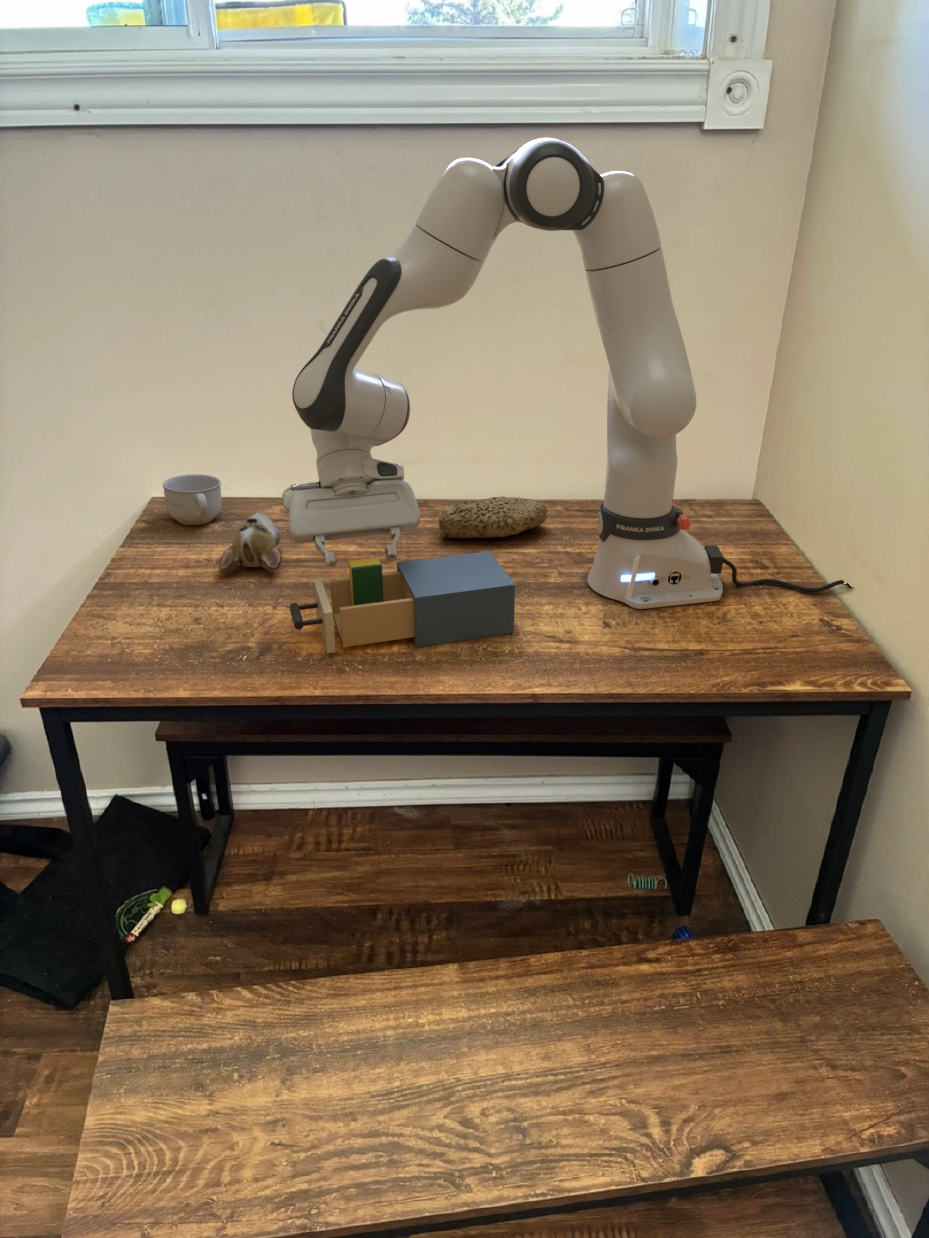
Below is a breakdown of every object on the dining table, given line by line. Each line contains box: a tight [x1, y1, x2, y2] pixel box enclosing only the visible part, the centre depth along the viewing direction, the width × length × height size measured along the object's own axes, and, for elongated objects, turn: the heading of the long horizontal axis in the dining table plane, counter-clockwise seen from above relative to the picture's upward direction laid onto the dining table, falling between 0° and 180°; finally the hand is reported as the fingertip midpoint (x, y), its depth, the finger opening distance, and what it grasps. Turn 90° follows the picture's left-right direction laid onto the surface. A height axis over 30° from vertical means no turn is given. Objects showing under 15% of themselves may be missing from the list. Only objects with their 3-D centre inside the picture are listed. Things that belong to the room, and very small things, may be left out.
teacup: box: [162, 473, 222, 526], centre depth 171 cm, size 14×11×8 cm
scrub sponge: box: [348, 557, 384, 606], centre depth 134 cm, size 4×3×9 cm
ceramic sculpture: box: [218, 509, 283, 573], centre depth 155 cm, size 11×9×15 cm
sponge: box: [438, 496, 549, 539], centre depth 167 cm, size 13×8×20 cm
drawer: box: [289, 571, 415, 654], centre depth 133 cm, size 19×11×7 cm, turn 106°
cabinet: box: [396, 550, 516, 648], centre depth 137 cm, size 15×12×8 cm
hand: (361, 561), depth 135 cm, fingers open, 8 cm apart
